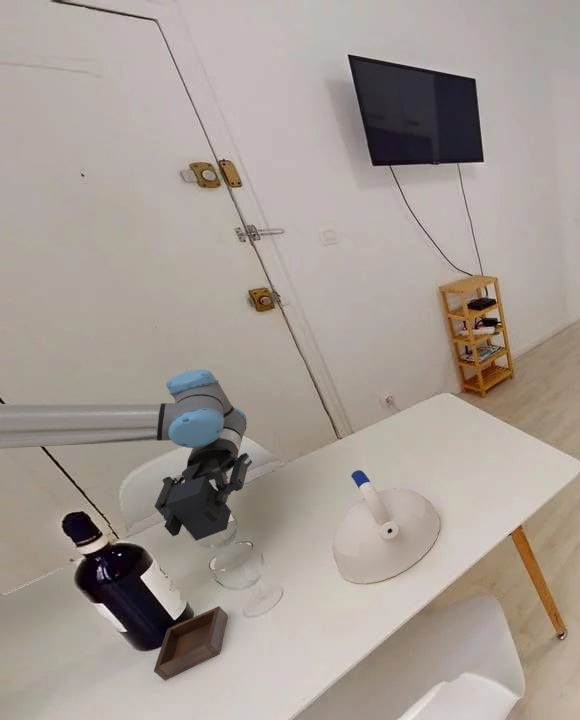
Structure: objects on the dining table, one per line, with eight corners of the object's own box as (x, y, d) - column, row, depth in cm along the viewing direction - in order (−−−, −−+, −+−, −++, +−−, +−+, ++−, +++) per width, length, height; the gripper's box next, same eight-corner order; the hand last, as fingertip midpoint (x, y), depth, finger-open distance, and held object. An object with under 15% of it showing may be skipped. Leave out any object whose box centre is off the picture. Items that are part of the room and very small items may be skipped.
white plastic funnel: (354, 607, 78) (315, 545, 69) (326, 542, 91) (291, 484, 82) (456, 539, 91) (435, 480, 82) (419, 491, 103) (397, 435, 94)
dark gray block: (195, 540, 78) (165, 504, 73) (202, 521, 82) (173, 485, 77) (226, 529, 80) (199, 493, 75) (231, 511, 84) (205, 475, 79)
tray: (164, 680, 68) (153, 671, 66) (177, 638, 74) (167, 628, 72) (219, 653, 71) (210, 644, 70) (228, 615, 77) (219, 605, 76)
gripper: (272, 449, 97) (262, 514, 80) (171, 481, 89) (135, 561, 72) (257, 424, 94) (243, 487, 77) (150, 455, 85) (107, 533, 68)
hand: (191, 523), depth 74 cm, fingers closed on dark gray block, 4 cm apart
